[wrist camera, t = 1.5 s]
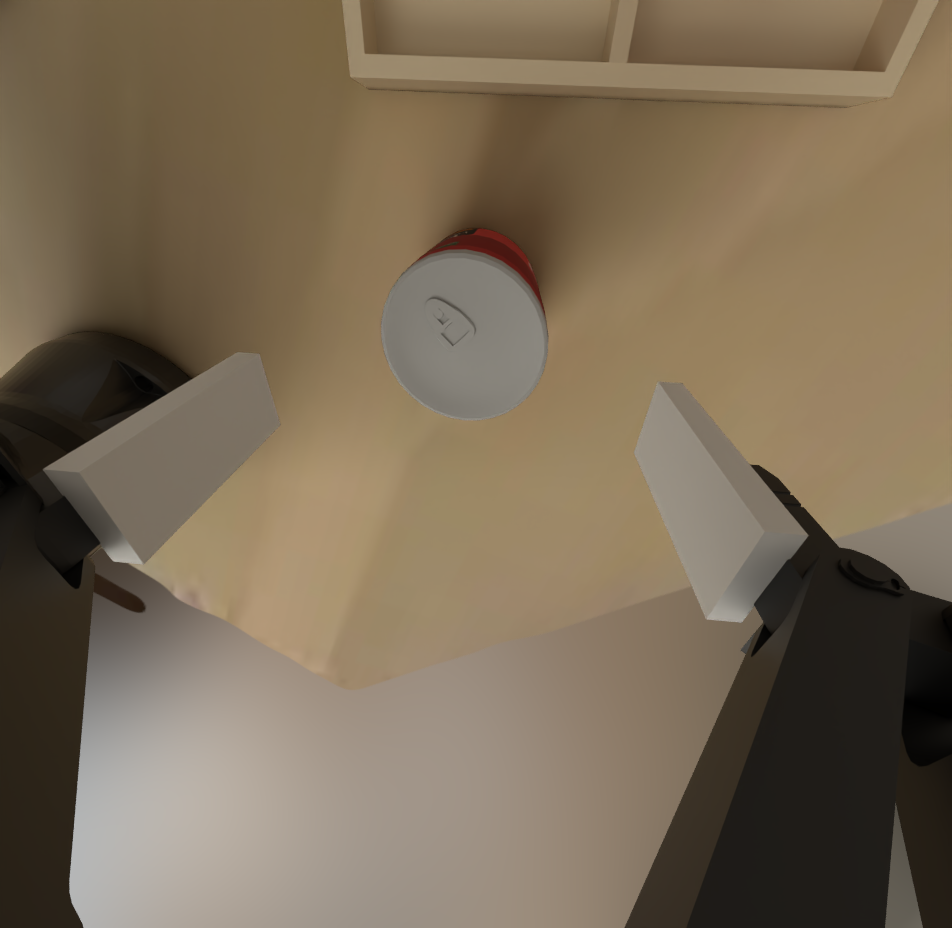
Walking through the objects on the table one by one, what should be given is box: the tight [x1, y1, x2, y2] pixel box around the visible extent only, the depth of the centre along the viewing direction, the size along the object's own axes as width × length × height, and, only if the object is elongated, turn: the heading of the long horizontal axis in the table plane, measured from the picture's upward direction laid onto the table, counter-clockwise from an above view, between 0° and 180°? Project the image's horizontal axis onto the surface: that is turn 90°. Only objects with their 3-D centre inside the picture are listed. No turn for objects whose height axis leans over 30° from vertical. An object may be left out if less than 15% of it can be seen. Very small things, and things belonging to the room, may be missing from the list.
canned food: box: [381, 228, 548, 420], centre depth 22 cm, size 8×8×11 cm
